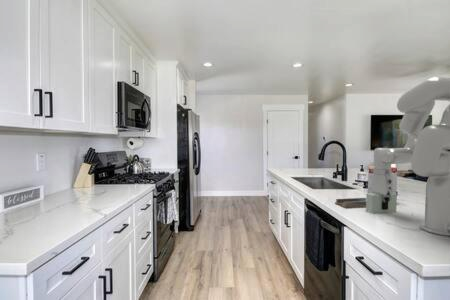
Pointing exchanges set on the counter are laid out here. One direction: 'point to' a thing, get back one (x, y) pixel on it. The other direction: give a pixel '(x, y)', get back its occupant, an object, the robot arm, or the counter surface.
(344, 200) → the door track
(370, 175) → the cracker box
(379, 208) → the pale green block
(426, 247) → the counter surface
